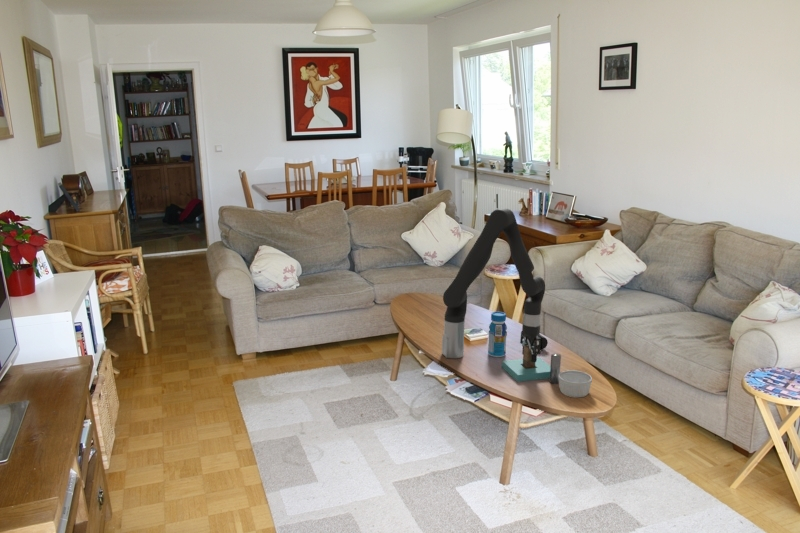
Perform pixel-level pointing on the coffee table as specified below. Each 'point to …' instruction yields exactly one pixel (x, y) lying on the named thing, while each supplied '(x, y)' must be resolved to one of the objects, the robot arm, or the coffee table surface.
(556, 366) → the round peg
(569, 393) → the ramekin
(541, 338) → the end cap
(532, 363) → the square peg
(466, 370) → the coffee table surface
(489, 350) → the beverage bottle
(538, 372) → the socket block
